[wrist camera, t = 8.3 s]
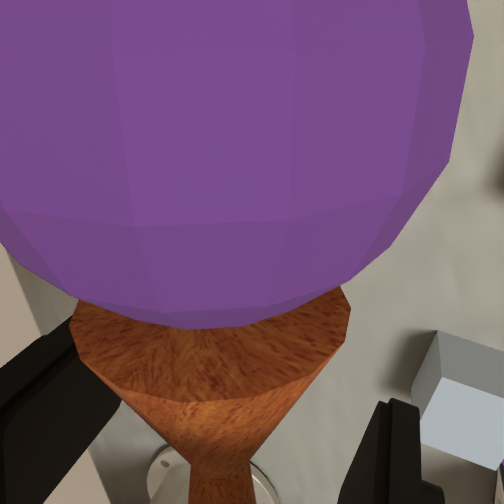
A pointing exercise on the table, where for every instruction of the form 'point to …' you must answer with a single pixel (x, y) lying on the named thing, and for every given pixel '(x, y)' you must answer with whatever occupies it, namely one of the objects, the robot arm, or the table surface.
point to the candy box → (499, 485)
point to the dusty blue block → (462, 399)
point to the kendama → (218, 190)
